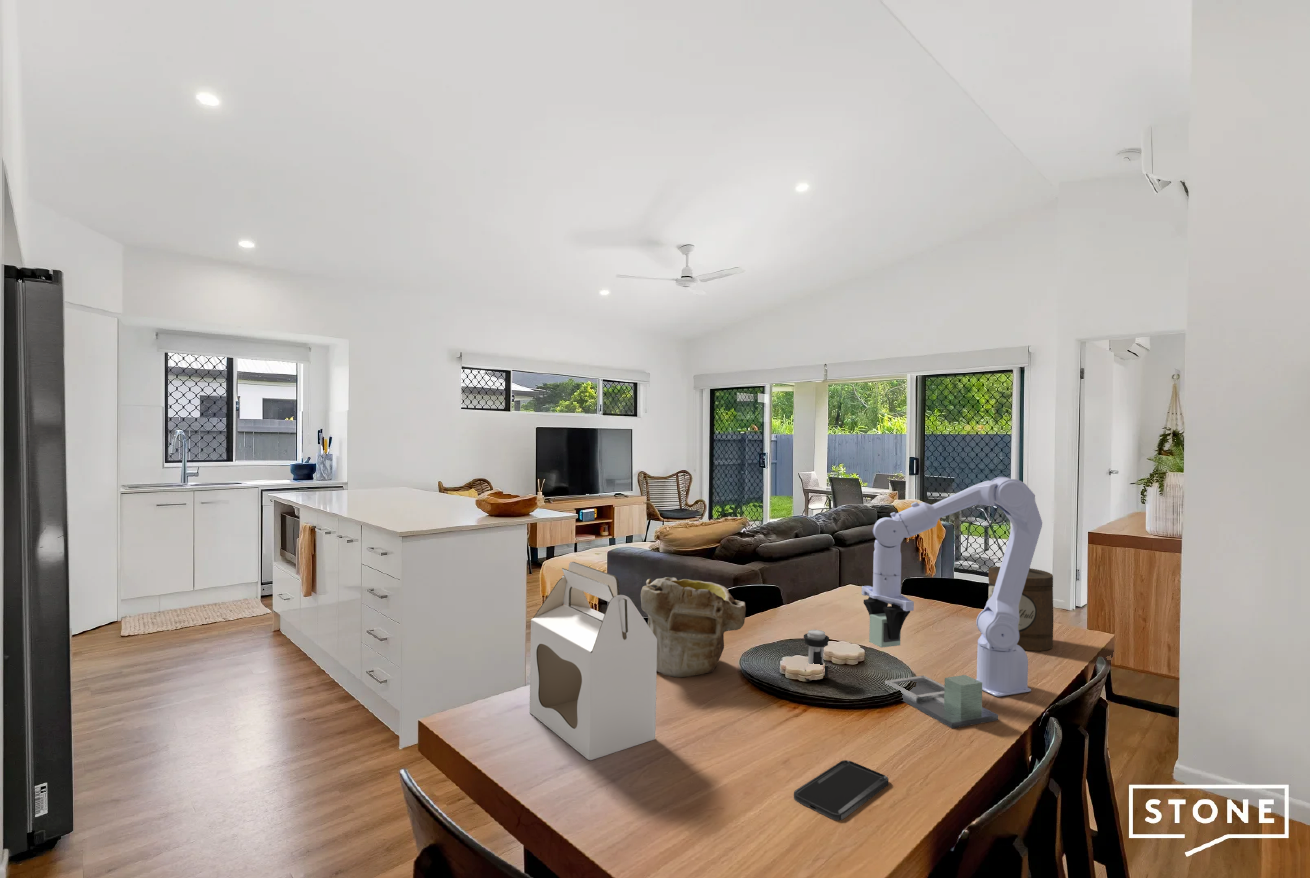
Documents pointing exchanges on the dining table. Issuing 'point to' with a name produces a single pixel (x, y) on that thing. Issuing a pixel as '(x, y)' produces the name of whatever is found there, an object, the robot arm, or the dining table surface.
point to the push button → (816, 647)
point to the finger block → (881, 631)
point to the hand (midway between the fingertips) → (885, 635)
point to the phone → (841, 789)
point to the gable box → (593, 666)
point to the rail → (942, 713)
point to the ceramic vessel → (689, 623)
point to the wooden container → (1033, 609)
